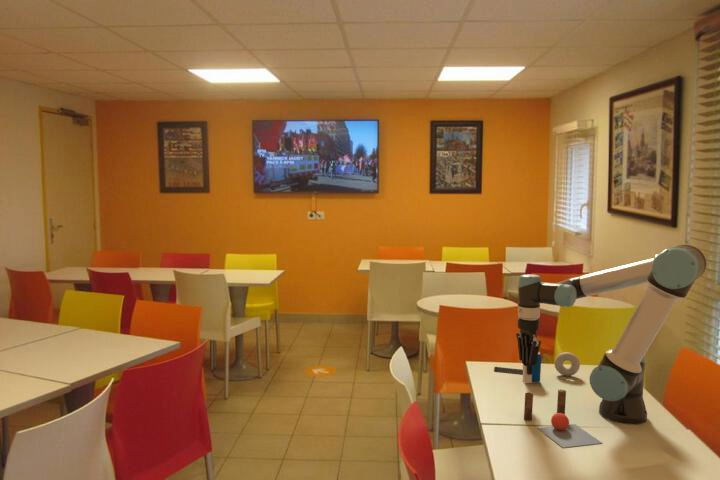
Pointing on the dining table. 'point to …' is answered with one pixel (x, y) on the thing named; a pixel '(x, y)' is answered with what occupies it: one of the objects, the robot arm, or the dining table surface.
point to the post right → (561, 401)
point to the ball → (560, 421)
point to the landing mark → (570, 436)
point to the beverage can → (536, 370)
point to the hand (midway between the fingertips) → (527, 382)
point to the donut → (570, 357)
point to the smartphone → (508, 370)
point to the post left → (528, 406)
